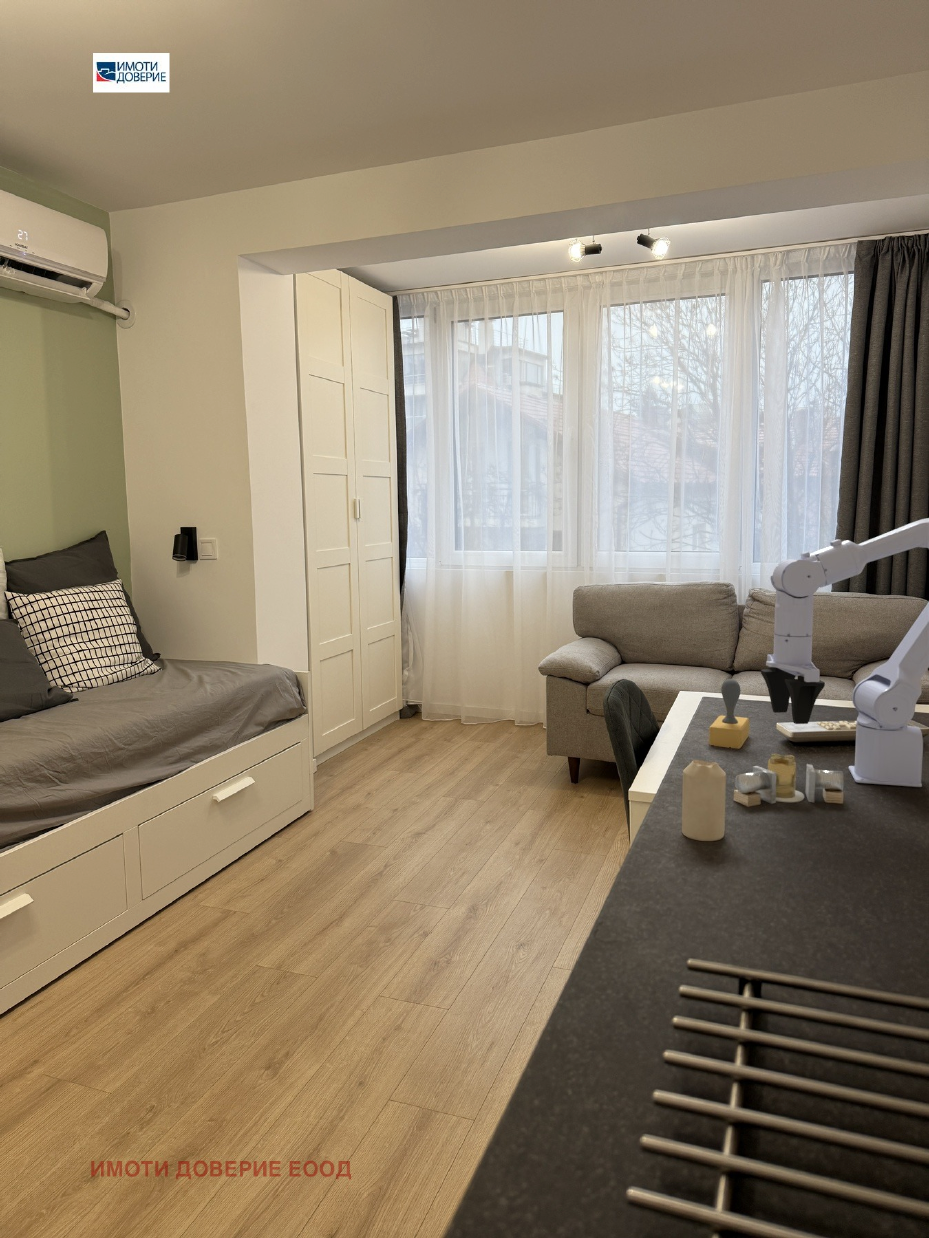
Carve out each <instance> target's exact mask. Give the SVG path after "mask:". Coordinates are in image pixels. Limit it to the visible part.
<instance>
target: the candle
mask: <svg viewBox="0 0 929 1238" xmlns="http://www.w3.org/2000/svg"><path fill="white" fill-rule="evenodd" d="M726 782H727V773H726V772H725V771H724V770H723V768H722V767H721V766H720V765H719V764H718V763H717V762H715V761H713V762H707V761H704V760H697V759H693V760H692V761H691V762H690V763H689V764H688V765H687V766H686V767H685V768H684V769H683V771H682V798H681V799H682V802H681V803H682V805H681V810H682V811H681V833H682V835H684V836H685V837H687V838H688V839H691V840H694V841H695V840H696V841H700V842H715V841H719V840H722V839H723V838H724V836H725V824H726V822H725V821H726V792H727V791H726V789H727V788H726V786H727V784H726Z"/></svg>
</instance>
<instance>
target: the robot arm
mask: <svg viewBox="0 0 929 1238" xmlns="http://www.w3.org/2000/svg"><path fill="white" fill-rule="evenodd" d="M829 544H830V545H829V546H827V547H823V548H821V549H817V550H816V551H812V552H809V551H804V552H801V553H800V556H801V557H800V558H799V559H795V558H789V559H785V560H782V561H781V562H780V563H778V564H777V565H776V566H775V567H774V569H773V572H772V575H771V576H770V582H771V585H772V586H773V587H772V588H774V590H775V604H774V627H773V628H774V631H773V653H772V654H767V655H766V657H767V658H766V660H765V661H766V662H765V666H767V667H769V668H766V669H761V670H760V674H761V677H762V678H763V680H764V681H765V683H766V684H765V685H766V688H767V690H768V694H769V701H770V705H771V709H772V712H773V713H779V714H780V713H787V712H788V709H789V704H791V717H792V721H793V724H795V725H801V724H802V725H804V724H805V725H806V724H809V722H810V719H811V716H812V712H813V709H814V706H815V703H816V701H817V700H818V697H819V695H820V693H821V692H822V691H823V689H825V685H826V683H825V681H824V680H821V679H820V669H819V668H818V667H816V666H815V664H814V663H813V662H812V659H813V658H812V657H813V655H812V653H813V651H812V650H813V631H814V629H813V628H814V594H815V593H817V591H818V590H819V588H823V587H827V586H830V585H832V584H835V583H838V582H840V581H844V580H847V579H849V578H852V577H855V576H858V575H860V574H862V572H863V570H864V569H865V566H866V565H867V564H869V563H870V562H874V561H878V560H881V559H883V558H886V557H890V556H893V555H896V554H900V553H902V552H906V551H909V550H911V549H914V548H927V549H928V550H929V517H928V518H921V519H919V520H916V521H913V522H910V523H908V524H904V525H903V526H900V527H898V528H895V529H893V530H891V531H888V532H886V533H883V534H881V535H878V536H876V537H873V538H870V539H867V540H865V541H863V542H861V543H856V542H853V541H851V540H849V539H848V540H842V539H834V540H830V542H829ZM928 669H929V601H928V602H927V604H926V606H924V608H923V609H922V610H921V613H920V614H919V616H917V618H916V619H915V621H914V623H913V624H912V625H911V627H910V629H909V630H908V631H907V633H906V634H905V635H904V637H903V639H902V640H901V641H900V643H899V644H898V646H897V647H896V649H895V650H894V651H893V653H892V655H891V656H890V657H889V659H888V660H886V662H883V664H881V665H879V666H877V667H875V668H874V669H873V671H872V672H871V673H870V675H869V676H868V677H866V678H864V679H862V680H860V681H859V682H858V683H857V684H856V685H855V686H854V688H853V691H852V693H851V701H852V705H853V706H854V709H856V710H857V711H858V716H857V718H856V725H855V727H856V729H855V730H856V731H855V750H854V765H849V766H848V770H849V772H850V773H851V776H852V777H853V780H854V782H855V783H859V784H874V785H886V786H888V785H889V786H899V787H900V786H903V787H914V788H921V787H923V784H922V774H923V773H922V770H923V753H924V752H923V751H924V740H923V739H924V738H923V733H922V730H921V728H920V727H919V726H915V725H914V726H913V725H908V724H909V723H910V721H912V719H913V717H914V715H915V712H916V704H917V701H918V700H919V698H920V696H921V695H922V682H921V680H922V677H923V676H924V674H925V673H926V672H927V670H928ZM796 677H797V678H796Z"/></svg>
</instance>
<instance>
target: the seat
mask: <svg viewBox="0 0 929 1238" xmlns="http://www.w3.org/2000/svg"><path fill="white" fill-rule="evenodd" d="M804 799H805V794H804V793H803V792H801V791H799V790H796V789H795V796H794V797H792V798H777V797H776V801H775V802H780V803H799V802H802V801H804Z"/></svg>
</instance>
